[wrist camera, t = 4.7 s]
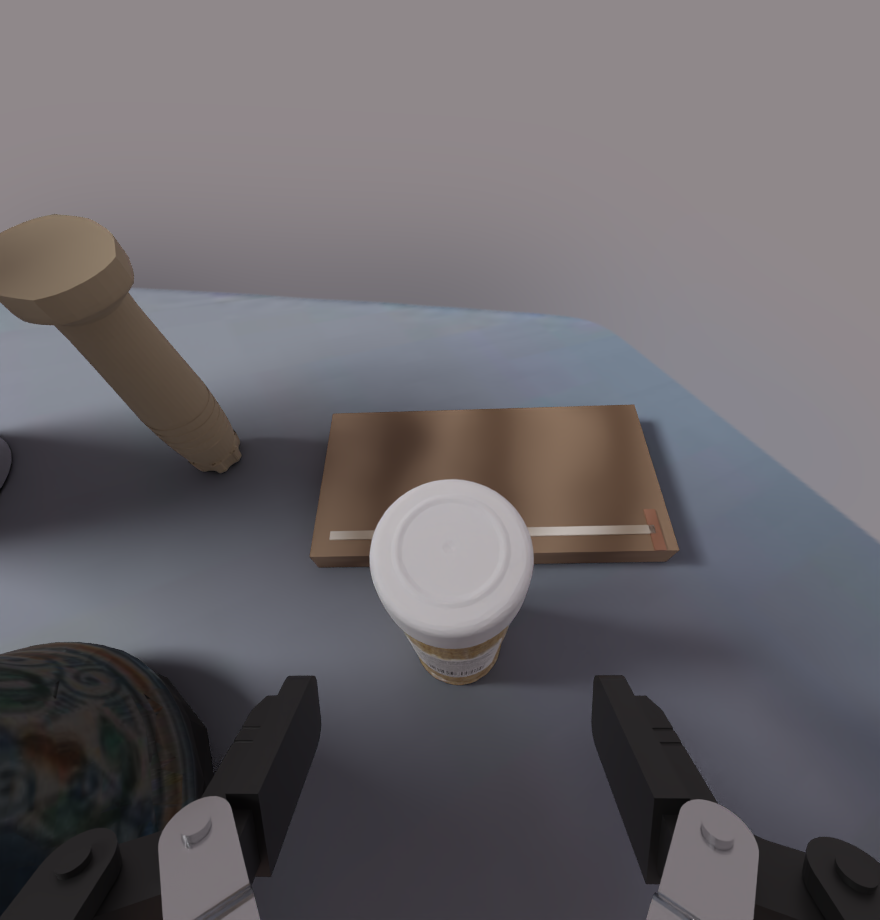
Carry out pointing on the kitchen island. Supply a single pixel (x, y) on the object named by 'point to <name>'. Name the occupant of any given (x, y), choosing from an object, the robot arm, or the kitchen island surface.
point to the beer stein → (89, 752)
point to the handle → (112, 331)
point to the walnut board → (501, 478)
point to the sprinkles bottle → (452, 574)
